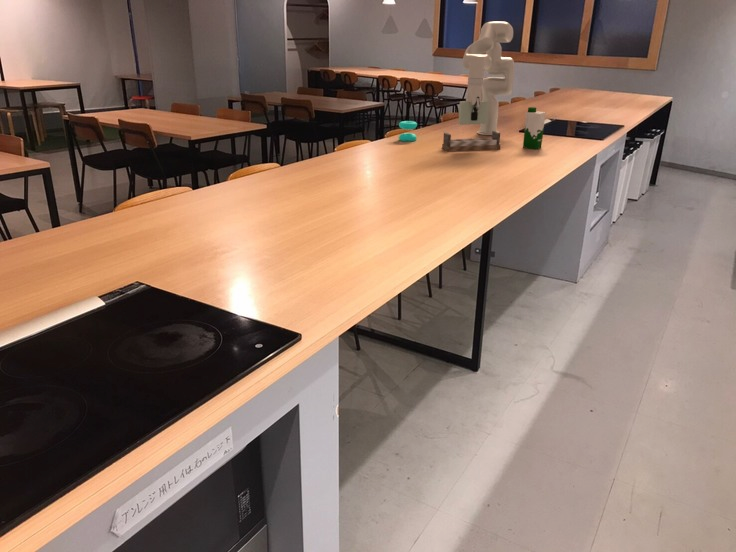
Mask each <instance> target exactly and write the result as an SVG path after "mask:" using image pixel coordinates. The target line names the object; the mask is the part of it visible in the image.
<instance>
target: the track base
mask: <svg viewBox="0 0 736 552" xmlns="http://www.w3.org/2000/svg"><path fill="white" fill-rule="evenodd" d="M497 131H498V130H496V131H492V135H491V137H481V138H480V137H478V138H476V137H474V138H453V139H452V135H451V134H450V133H449V132H443V140H442V141H443V143H442V145H441V148H442V149H443V148H444V149H443V150H445V151H447V152H465V151H466V152H467V151H490V150H491V151H492V150H493V151H494V150H501V144H500V143H501V142H500V140H501V132H499V131H498V132H497Z"/></svg>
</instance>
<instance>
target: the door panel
mask: <svg viewBox="0 0 736 552" xmlns="http://www.w3.org/2000/svg"><path fill="white" fill-rule="evenodd" d="M474 106H476V104H475V105H474ZM458 108H459V109H458V110H459V111H458V122H457V123H458V125H460V126H463V125H467V126H468V125H469V126H471V125H480V124H487V114H488V101H482V100H481V105H480V108H479V109H478V118H477V120H475V121H472V120H471V112H472V106H470V102H468V101H466V100H463V101H459V107H458ZM474 108H475V107H474Z"/></svg>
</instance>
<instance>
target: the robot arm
mask: <svg viewBox="0 0 736 552" xmlns="http://www.w3.org/2000/svg"><path fill="white" fill-rule="evenodd" d="M513 38H514V28H513V26H512V25H511V24H510V23H509V22H507V21H488V22H485V23H483V25H482V27H481V29H480V34H479V37H478V40H475V41H474V42H472V43H471V44H470V45H469V46H467V48H466V50H465V51H464V55H463V57H462V58H463V59H462V61H461V62H462V68H463V69H464V70H466V71H468V74H467V90H466V98H465V101H468V102H470V106H472V112H471V120H472V121H475V120H477V118H478V109H479V108H480V105H481V101H488V114H487V124H479V125H480V127H479V130H477V131H476V133H477V134H478V135H483V136H492V131H497V132H499V130H497V127H498V116H499V103H500V102H499V100H498V98H497V97H496V96H510V95H511V94H512V92H513V89H514V78H515V76H514V75H515V61H514V59H513V58H512V57H507V56H505V57H504V56H502V49H503V48H502V46H501V43H507V44H508V43H511V41H512V40H513ZM485 73H486V74H487V75H489V77H485V78H484V76H485V75H484V74H485ZM496 76H497V77H496ZM499 76H504V77H499ZM475 104H476V106H474V105H475ZM474 107H475V108H474Z"/></svg>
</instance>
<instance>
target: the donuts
mask: <svg viewBox="0 0 736 552" xmlns="http://www.w3.org/2000/svg"><path fill="white" fill-rule="evenodd" d="M398 126H399V128H400V129H403V130H415V129H416V128H417V126H418V123H417V122H416V121H413V120H404V121H400V122H399V123H398ZM417 138H418V137H417V135H416V134H415V133H410V132H404V133H401V134H400V135H399V136H398V140H399V141H401V142H406V141H409V142H414V141H416V140H417Z"/></svg>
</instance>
